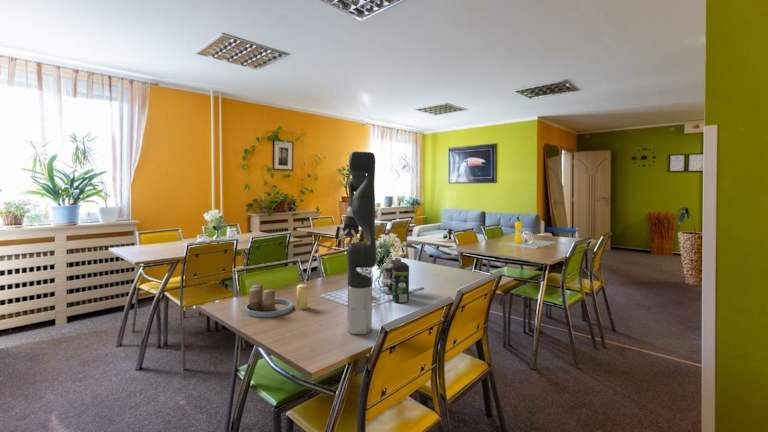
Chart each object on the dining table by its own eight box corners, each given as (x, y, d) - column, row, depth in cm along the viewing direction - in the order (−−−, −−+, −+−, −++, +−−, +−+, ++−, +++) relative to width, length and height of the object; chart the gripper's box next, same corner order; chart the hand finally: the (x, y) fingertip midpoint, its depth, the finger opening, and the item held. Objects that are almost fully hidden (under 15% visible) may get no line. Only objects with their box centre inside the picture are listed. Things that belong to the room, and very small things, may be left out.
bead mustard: (306, 309, 162) (306, 287, 162) (295, 309, 162) (295, 287, 162) (308, 306, 167) (308, 284, 166) (298, 306, 167) (298, 284, 166)
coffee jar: (391, 297, 182) (391, 260, 181) (407, 297, 182) (407, 260, 181) (392, 303, 172) (393, 264, 171) (409, 303, 173) (410, 264, 171)
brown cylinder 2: (272, 315, 154) (272, 292, 153) (262, 315, 154) (261, 292, 153) (276, 312, 159) (276, 289, 158) (265, 311, 159) (265, 289, 158)
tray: (284, 317, 152) (284, 313, 152) (236, 316, 152) (236, 311, 152) (297, 302, 172) (297, 298, 172) (255, 301, 172) (255, 297, 172)
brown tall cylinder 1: (260, 309, 161) (260, 287, 161) (250, 309, 162) (249, 287, 161) (264, 306, 166) (263, 284, 165) (254, 306, 166) (253, 284, 165)
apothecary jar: (403, 289, 197) (404, 256, 196) (404, 296, 185) (404, 260, 184) (381, 289, 198) (381, 255, 196) (380, 295, 186) (380, 260, 184)
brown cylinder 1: (258, 313, 156) (258, 290, 155) (247, 313, 156) (247, 290, 155) (262, 310, 161) (262, 287, 160) (252, 310, 161) (251, 287, 160)
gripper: (337, 213, 182) (331, 246, 179) (365, 217, 180) (360, 250, 177) (341, 216, 189) (335, 247, 186) (368, 220, 187) (363, 251, 184)
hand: (347, 248), depth 182 cm, fingers open, 8 cm apart
